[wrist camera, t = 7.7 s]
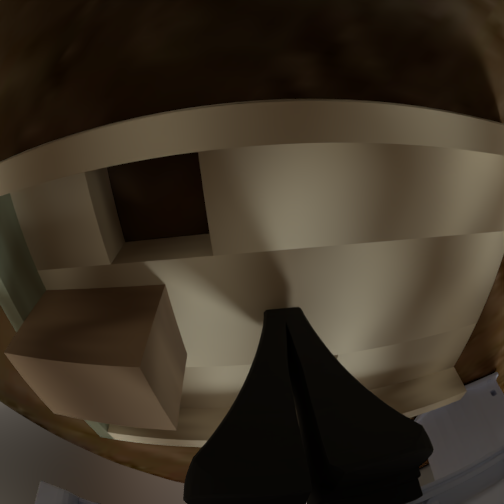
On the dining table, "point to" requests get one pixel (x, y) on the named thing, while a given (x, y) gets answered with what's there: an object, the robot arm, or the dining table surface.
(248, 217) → the trap box
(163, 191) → the dining table surface
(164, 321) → the walnut block
